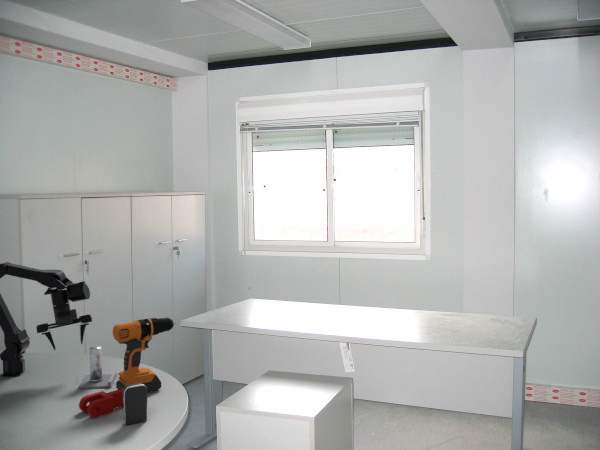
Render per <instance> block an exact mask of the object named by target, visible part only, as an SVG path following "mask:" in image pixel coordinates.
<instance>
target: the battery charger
mask: <svg viewBox="0 0 600 450" xmlns="http://www.w3.org/2000/svg"><path fill="white" fill-rule="evenodd" d="M122 403H123V404H124V406H123V424H124V425H126V426H129V425H134V424H138V423H143V422H145V421H147V420H148V393H147V388H146V386H145V385H143V384H142V383H136V384H131V385H127V386H125V387H124V388H123V391H122Z"/></svg>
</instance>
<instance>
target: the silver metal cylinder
mask: <svg viewBox="0 0 600 450" xmlns="http://www.w3.org/2000/svg"><path fill="white" fill-rule="evenodd" d="M102 348H103V347H102V346H101V345H92V346H90V347H89V375H90V382H93V383H96V382H101V381H102V380H103V377H102V375H103V355H102V353H103V350H102Z"/></svg>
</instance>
